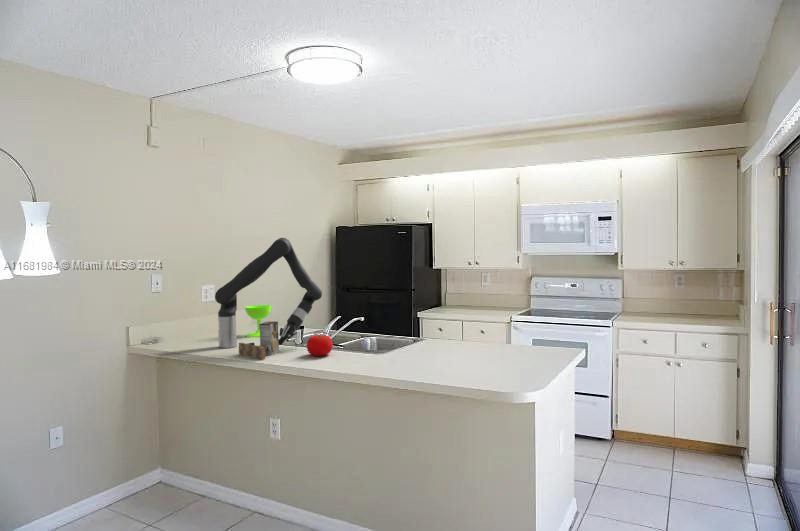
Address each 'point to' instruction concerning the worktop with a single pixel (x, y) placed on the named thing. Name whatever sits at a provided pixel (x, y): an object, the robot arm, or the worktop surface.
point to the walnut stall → (252, 350)
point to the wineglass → (257, 316)
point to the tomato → (319, 345)
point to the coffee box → (269, 337)
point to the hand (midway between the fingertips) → (279, 344)
